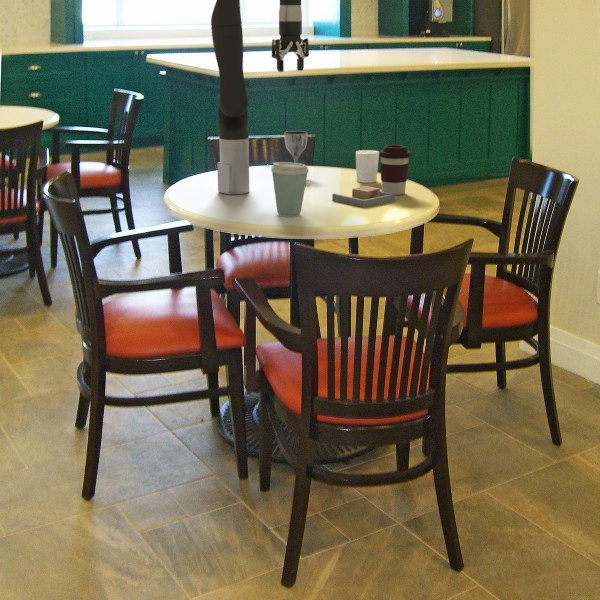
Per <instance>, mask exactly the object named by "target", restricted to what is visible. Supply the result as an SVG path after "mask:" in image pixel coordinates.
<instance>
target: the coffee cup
mask: <svg viewBox="0 0 600 600" xmlns="http://www.w3.org/2000/svg"><path fill="white" fill-rule="evenodd" d="M378 152H379V158H380V162H379V163H380V180H381V191H382V192H386V193H391V194H396V196H403V195H404V194H406V187H407V181H408V173H409V165H410V164H409V159H410V158H411V155H412V153H411V151H410V150H408V149H407V146H406V145H401V144H389V145H384V147H383V149H381V150H379V151H378Z"/></svg>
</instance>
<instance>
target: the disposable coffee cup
mask: <svg viewBox="0 0 600 600" xmlns="http://www.w3.org/2000/svg"><path fill="white" fill-rule="evenodd" d="M272 164H273V165H272V166H271V169H270V171H271V173H272V181H273V187H274V188H273V189H274V195H275V196H274V197H275V198H274V199H275V203H276V213H277V215H278V216H280V217H283V218H295V217H299V216H301V213H302V207H303V202H304V196H305V189H306V184H307V179H308V173H309V168H308V166H307V165H306V164H304V163H300V162H299V163H298V162H297V163H294V162H288V161H287V162H286V161H284V162H279V161H277V162H273V163H272Z"/></svg>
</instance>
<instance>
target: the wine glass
mask: <svg viewBox="0 0 600 600" xmlns="http://www.w3.org/2000/svg"><path fill="white" fill-rule="evenodd" d="M307 142H308V132H307V131H305V130H288V131H287V130H286V131H284V144H285V147H286V149H287V151H288V152H289V153H290V155H291V156H292V158H293V163H298V160H299V159H300V156H301V155H302V153H303V152H304V151H305V150H306V147H307V144H308V143H307Z"/></svg>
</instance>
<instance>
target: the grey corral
mask: <svg viewBox="0 0 600 600" xmlns="http://www.w3.org/2000/svg"><path fill="white" fill-rule="evenodd" d="M396 197H397V195H396V194H391V193H386V192H382V190H380V197H376V198H371V199H366V200H362V199H358V198H353V197H352V196H350V195H349V196H348V195H344V194H339V193H332V197H331V200H332V201H334V202H338V203H343V204H347V205H351V206H356V207H360V208H367V207H368V208H369V207H372V206H378V205H381V203H383V204H386V202H388V203H391V202H390V201H393V202H396V201H395V200H397V198H396ZM377 204H378V205H377Z"/></svg>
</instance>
